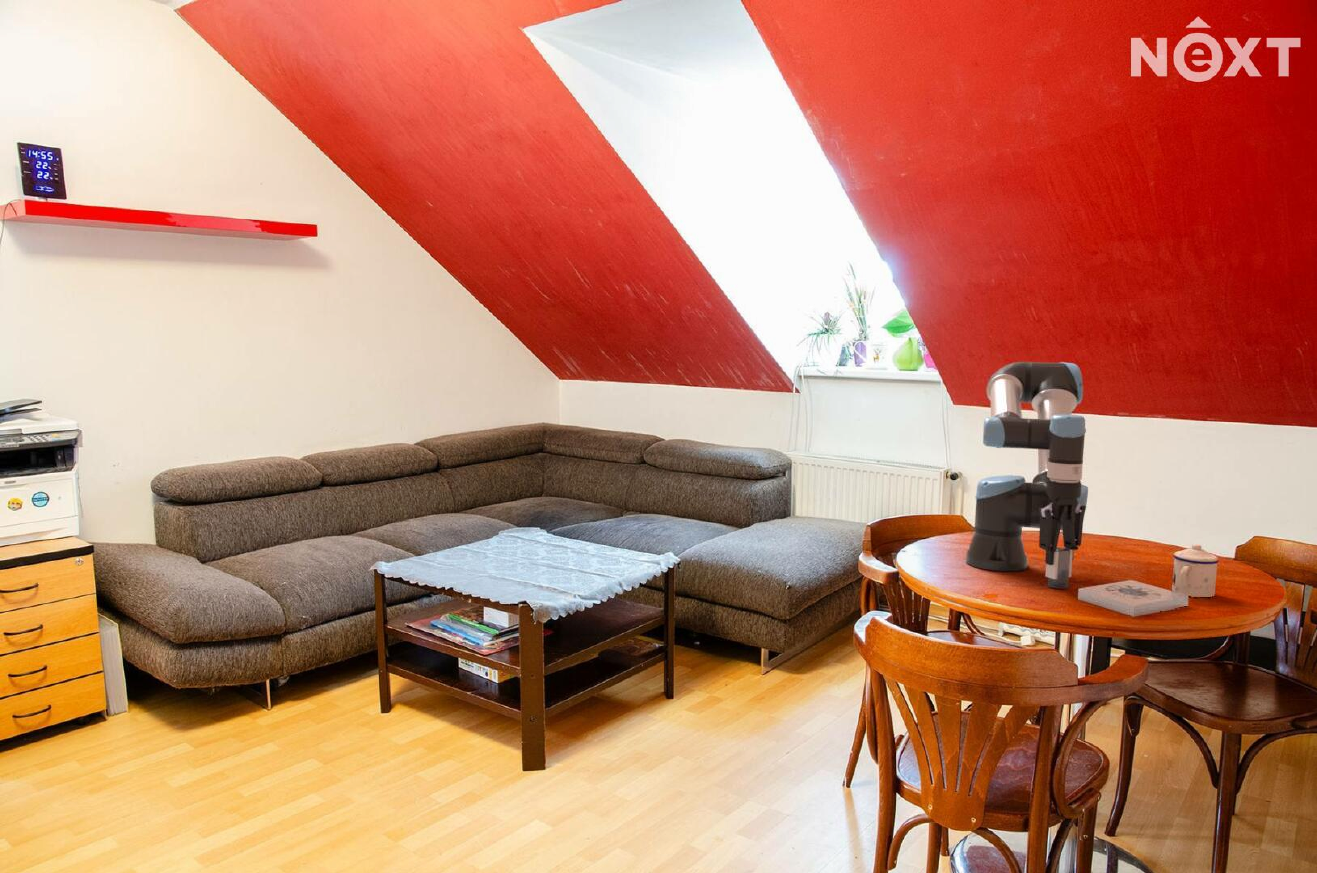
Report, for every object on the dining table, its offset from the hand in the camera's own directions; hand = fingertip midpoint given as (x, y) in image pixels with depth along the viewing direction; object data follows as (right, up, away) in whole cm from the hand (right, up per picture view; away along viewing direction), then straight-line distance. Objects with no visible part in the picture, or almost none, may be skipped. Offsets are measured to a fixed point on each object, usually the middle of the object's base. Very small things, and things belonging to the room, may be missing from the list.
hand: (1058, 576), depth 215 cm
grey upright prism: (0, -2, 0) cm, 2 cm away
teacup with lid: (+29, -4, -5) cm, 30 cm away
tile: (+11, -4, -12) cm, 17 cm away
